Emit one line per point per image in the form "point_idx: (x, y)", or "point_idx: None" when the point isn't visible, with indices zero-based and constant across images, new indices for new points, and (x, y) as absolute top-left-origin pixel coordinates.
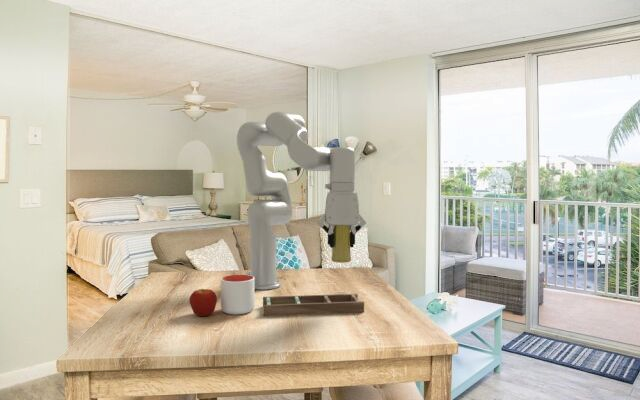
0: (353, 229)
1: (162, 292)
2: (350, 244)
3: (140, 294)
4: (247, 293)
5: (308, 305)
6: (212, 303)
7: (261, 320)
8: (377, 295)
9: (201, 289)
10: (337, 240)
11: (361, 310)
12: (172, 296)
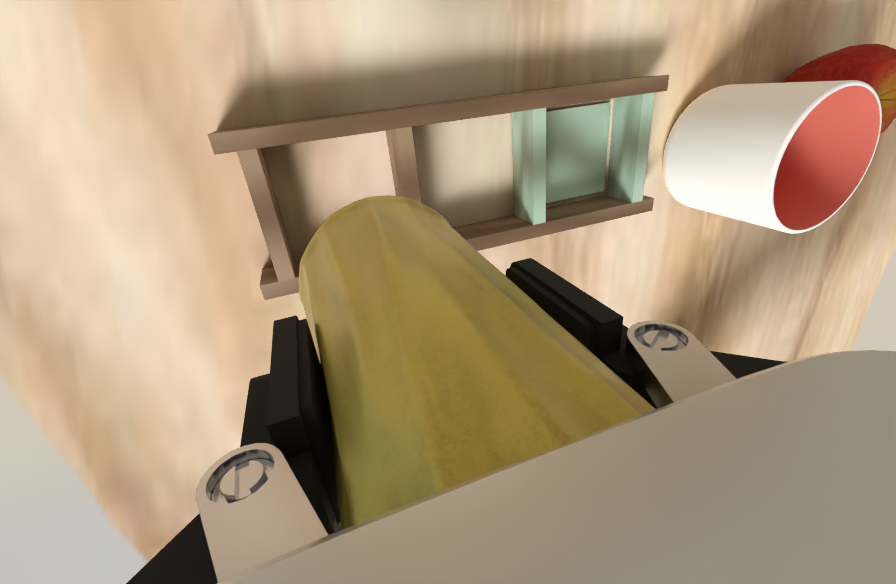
0: (263, 522)
1: (823, 314)
2: (314, 355)
3: (863, 290)
4: (754, 103)
5: (498, 96)
6: (827, 65)
7: (651, 15)
8: (168, 410)
9: (884, 122)
10: (503, 284)
11: (230, 129)
12: (813, 283)
